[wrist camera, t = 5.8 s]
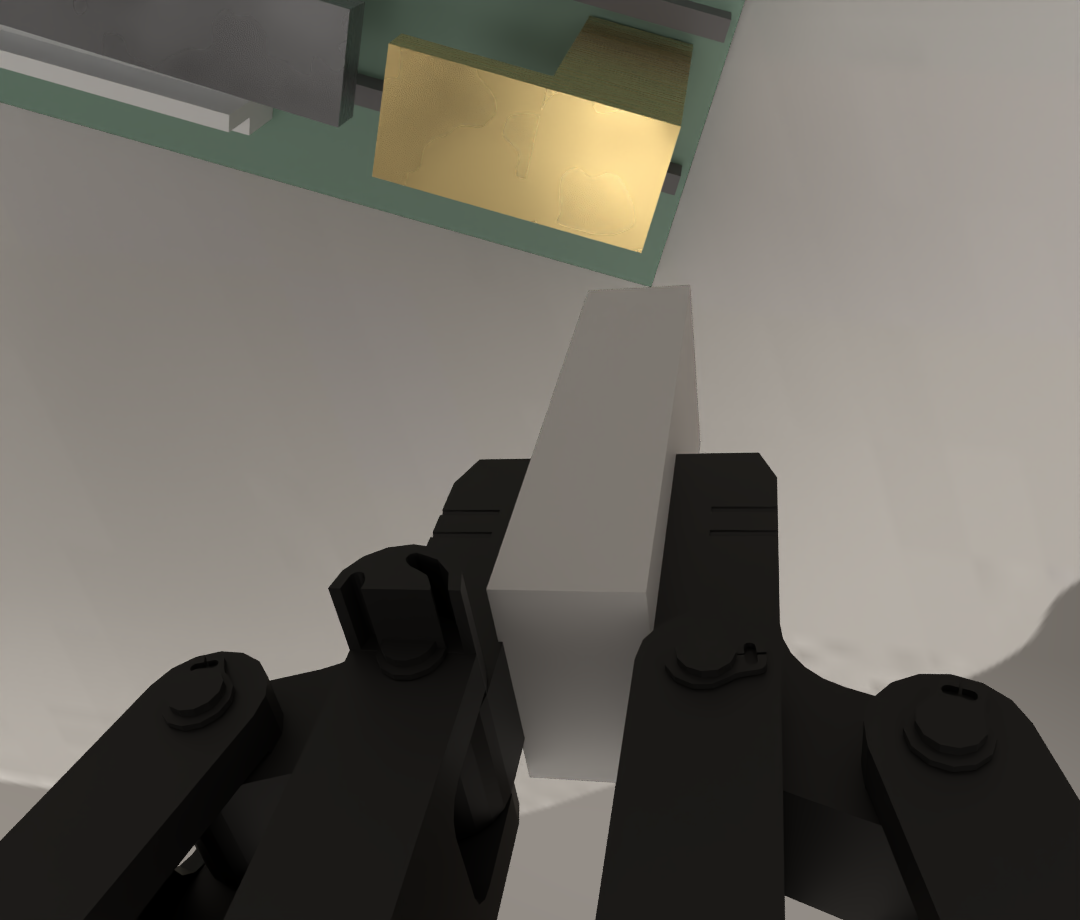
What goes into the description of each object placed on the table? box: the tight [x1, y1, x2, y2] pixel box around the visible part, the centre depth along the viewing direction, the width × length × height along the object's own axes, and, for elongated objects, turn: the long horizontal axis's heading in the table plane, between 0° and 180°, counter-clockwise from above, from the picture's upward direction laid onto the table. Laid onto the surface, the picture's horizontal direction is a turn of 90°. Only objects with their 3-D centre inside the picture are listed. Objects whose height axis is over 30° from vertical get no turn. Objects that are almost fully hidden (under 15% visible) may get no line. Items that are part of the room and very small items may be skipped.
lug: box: [372, 16, 693, 253], centre depth 25 cm, size 6×3×8 cm, turn 77°
